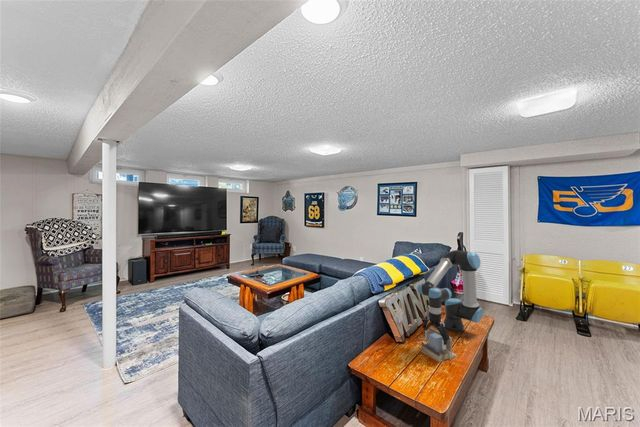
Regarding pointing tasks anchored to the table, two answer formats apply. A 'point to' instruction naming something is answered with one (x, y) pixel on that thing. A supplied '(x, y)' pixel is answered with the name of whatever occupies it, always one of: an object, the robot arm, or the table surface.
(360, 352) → the table surface
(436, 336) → the grey rectangular block
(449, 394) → the table surface
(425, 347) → the grey slotted stand
